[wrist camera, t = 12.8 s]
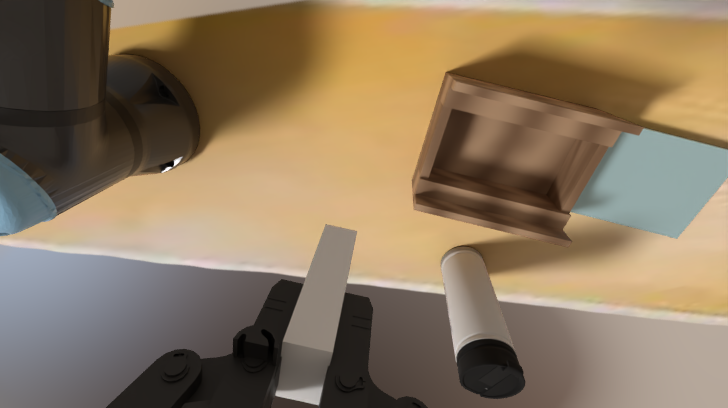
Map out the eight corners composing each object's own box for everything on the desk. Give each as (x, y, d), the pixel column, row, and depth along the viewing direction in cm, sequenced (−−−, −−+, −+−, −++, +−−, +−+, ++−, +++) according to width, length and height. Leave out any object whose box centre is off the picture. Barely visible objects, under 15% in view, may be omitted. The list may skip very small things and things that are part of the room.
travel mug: (493, 256, 49) (544, 382, 31) (465, 284, 52) (498, 415, 34) (458, 237, 48) (490, 355, 30) (432, 267, 51) (447, 391, 33)
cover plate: (545, 199, 44) (555, 212, 41) (592, 114, 39) (609, 121, 36) (666, 230, 44) (685, 245, 41) (730, 149, 39) (758, 159, 36)
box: (412, 180, 45) (413, 209, 37) (445, 72, 38) (456, 81, 30) (540, 211, 45) (568, 247, 37) (596, 108, 38) (644, 127, 30)
